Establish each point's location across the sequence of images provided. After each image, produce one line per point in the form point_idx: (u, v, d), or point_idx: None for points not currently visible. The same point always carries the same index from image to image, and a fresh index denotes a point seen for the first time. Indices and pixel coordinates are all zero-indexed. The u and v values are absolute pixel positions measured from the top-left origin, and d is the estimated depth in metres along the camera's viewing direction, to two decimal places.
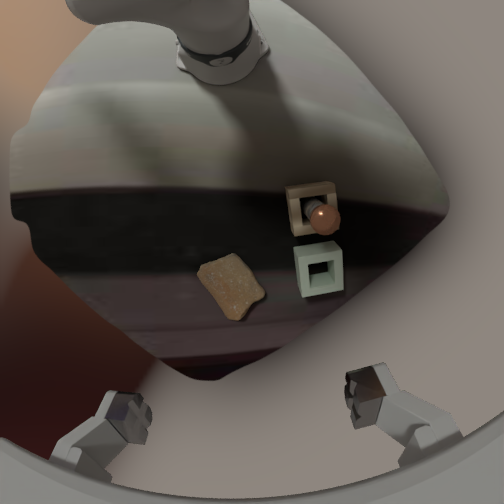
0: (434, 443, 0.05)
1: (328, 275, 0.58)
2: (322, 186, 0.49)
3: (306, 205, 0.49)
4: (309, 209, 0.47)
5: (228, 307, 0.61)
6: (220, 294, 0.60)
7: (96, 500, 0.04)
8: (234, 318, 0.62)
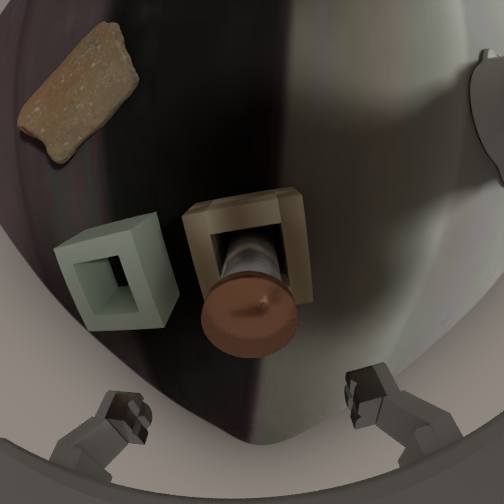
0: (434, 443, 0.05)
1: (110, 291, 0.26)
2: (308, 276, 0.22)
3: (263, 242, 0.20)
4: (262, 257, 0.17)
5: (37, 98, 0.18)
6: (60, 75, 0.18)
7: (96, 500, 0.04)
8: (20, 116, 0.18)
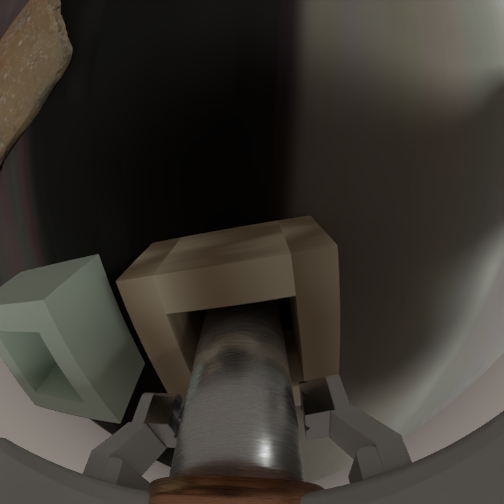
0: (377, 466, 0.05)
1: None
2: (334, 369, 0.12)
3: (263, 331, 0.11)
4: (260, 387, 0.08)
5: None
6: None
7: (96, 500, 0.04)
8: None
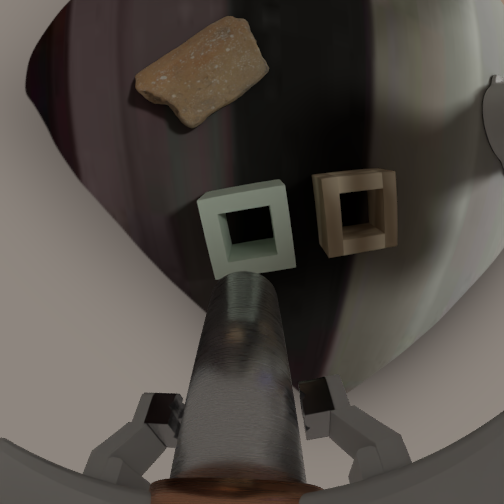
0: (377, 466, 0.05)
1: (230, 246, 0.33)
2: (395, 226, 0.29)
3: (263, 332, 0.11)
4: (261, 389, 0.08)
5: (161, 68, 0.26)
6: (187, 52, 0.25)
7: (96, 500, 0.04)
8: (139, 82, 0.26)
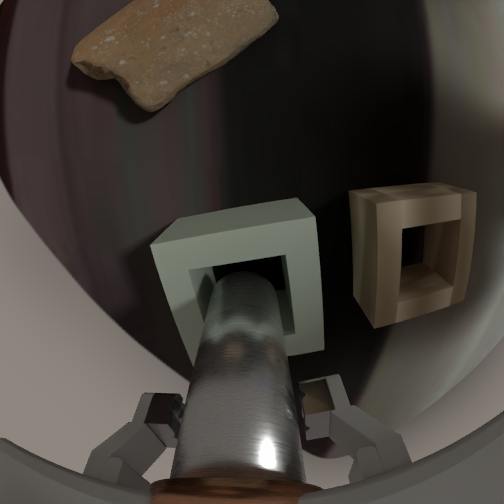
0: (377, 466, 0.05)
1: None
2: (467, 274, 0.16)
3: (263, 332, 0.11)
4: (261, 389, 0.08)
5: (109, 28, 0.13)
6: (149, 1, 0.12)
7: (96, 500, 0.04)
8: (76, 50, 0.13)
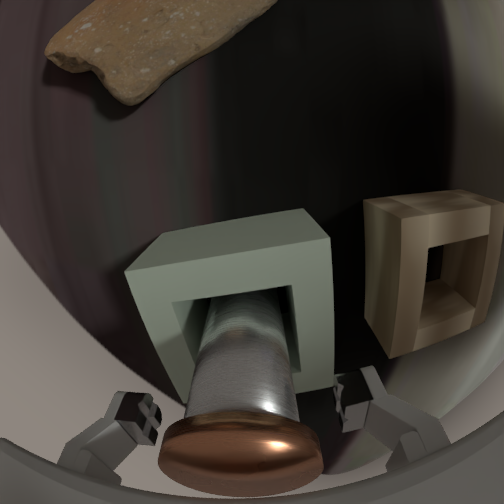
0: (420, 449, 0.05)
1: None
2: (490, 294, 0.13)
3: (263, 306, 0.12)
4: (261, 348, 0.09)
5: (86, 15, 0.10)
6: None
7: (96, 500, 0.04)
8: (51, 42, 0.10)
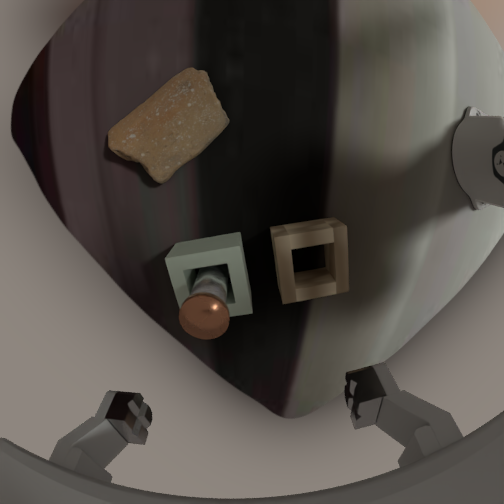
0: (434, 443, 0.05)
1: None
2: (347, 274, 0.34)
3: (218, 272, 0.32)
4: (214, 282, 0.29)
5: (130, 126, 0.30)
6: (153, 109, 0.29)
7: (96, 500, 0.04)
8: (111, 140, 0.30)
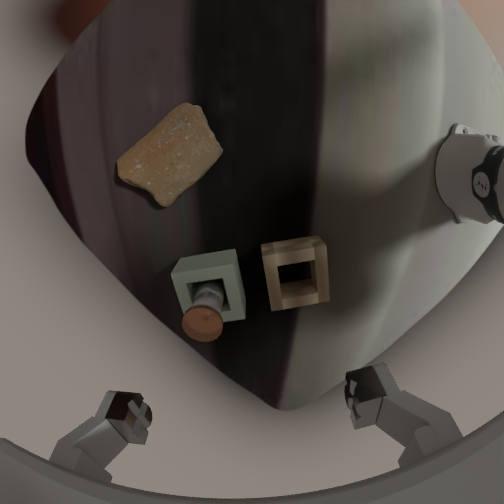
0: (434, 443, 0.05)
1: None
2: (327, 287, 0.39)
3: (215, 285, 0.38)
4: (211, 295, 0.35)
5: (136, 157, 0.36)
6: (155, 141, 0.35)
7: (96, 500, 0.04)
8: (120, 169, 0.36)
